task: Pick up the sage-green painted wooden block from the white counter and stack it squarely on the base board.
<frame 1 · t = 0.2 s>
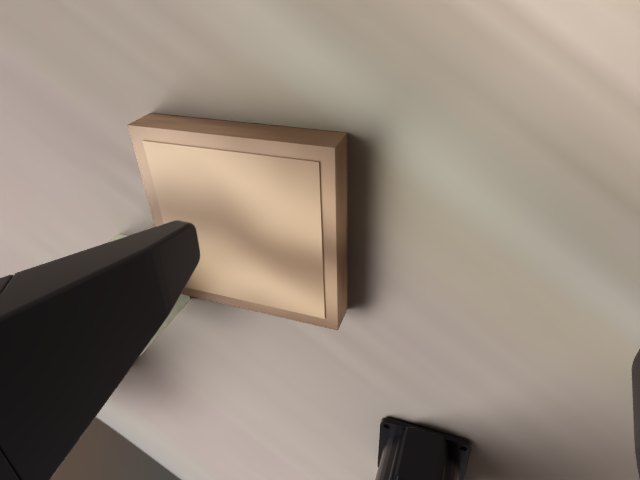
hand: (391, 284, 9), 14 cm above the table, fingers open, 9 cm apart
block: (155, 266, 35), on the table
base board: (254, 216, 29), on the table
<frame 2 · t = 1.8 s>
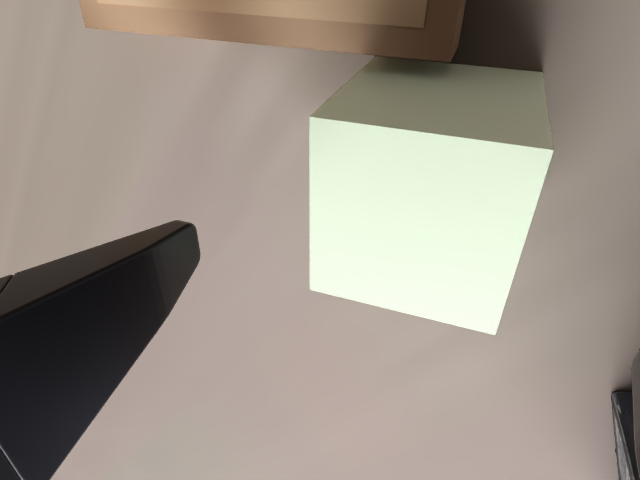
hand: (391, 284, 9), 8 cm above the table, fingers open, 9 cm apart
block: (442, 140, 16), on the table
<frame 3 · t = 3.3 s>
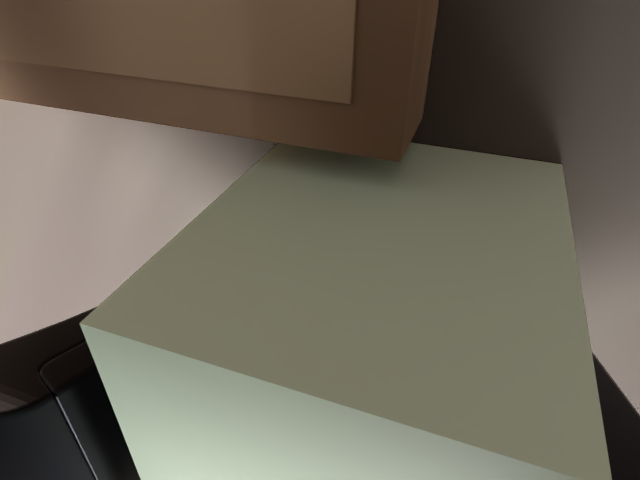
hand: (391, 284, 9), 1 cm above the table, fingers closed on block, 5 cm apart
block: (404, 250, 10), on the table, touching gripper
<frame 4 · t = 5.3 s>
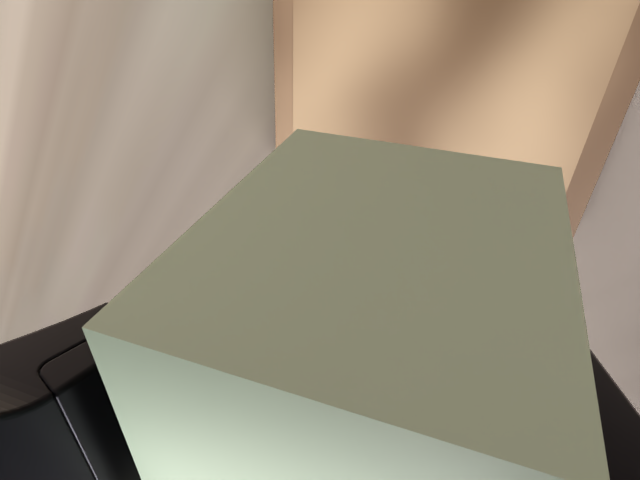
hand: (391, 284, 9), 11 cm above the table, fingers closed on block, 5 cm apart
block: (404, 252, 10), point 10 cm above the table, touching gripper
base board: (440, 72, 18), on the table
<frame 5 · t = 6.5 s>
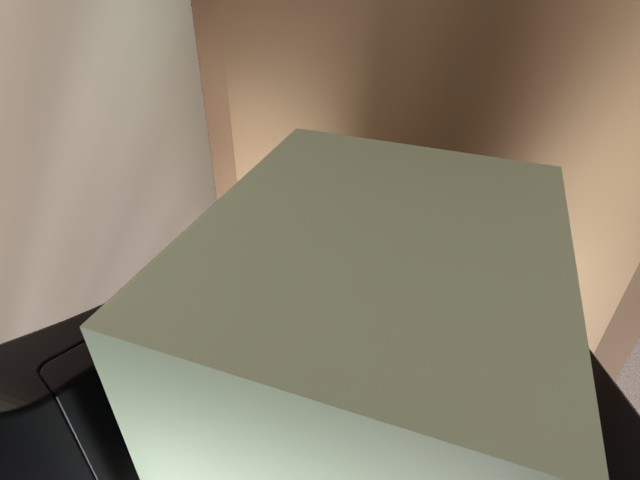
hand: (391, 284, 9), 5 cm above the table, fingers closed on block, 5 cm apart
block: (403, 252, 10), point 4 cm above the table, touching gripper
base board: (429, 172, 14), on the table
when the fingers open (4 cm above the table, at t = 7.6 s): block stays where it is, resting on base board.
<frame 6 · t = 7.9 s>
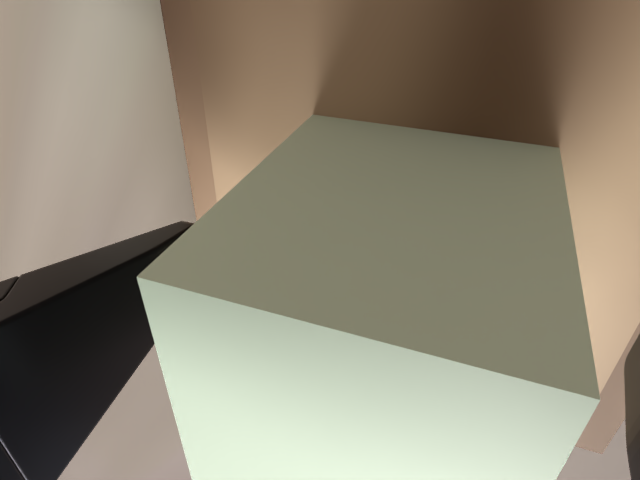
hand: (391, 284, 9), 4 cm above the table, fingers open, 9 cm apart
block: (412, 231, 11), point 2 cm above the table, touching base board
base board: (424, 190, 13), on the table
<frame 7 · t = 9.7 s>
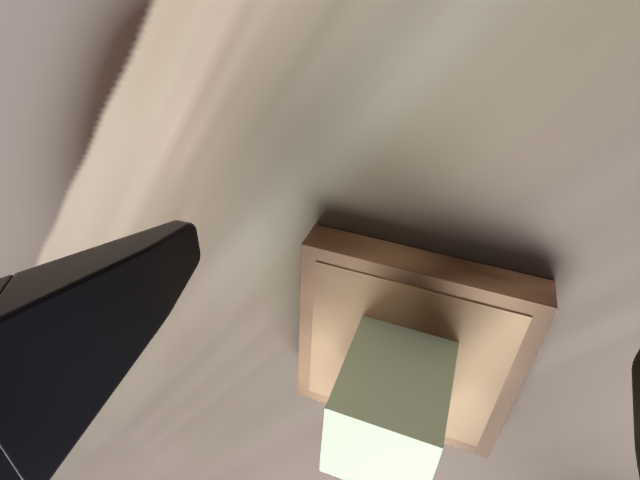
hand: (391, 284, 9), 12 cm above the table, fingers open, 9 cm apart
block: (402, 361, 25), point 2 cm above the table, touching base board
base board: (408, 334, 27), on the table
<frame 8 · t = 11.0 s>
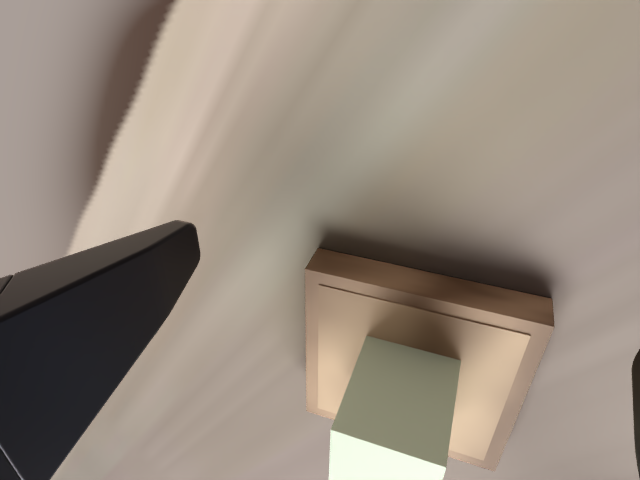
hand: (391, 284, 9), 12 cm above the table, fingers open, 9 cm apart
block: (406, 378, 26), point 2 cm above the table, touching base board
base board: (412, 351, 28), on the table
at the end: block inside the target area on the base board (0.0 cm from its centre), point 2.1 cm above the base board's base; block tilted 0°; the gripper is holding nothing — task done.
